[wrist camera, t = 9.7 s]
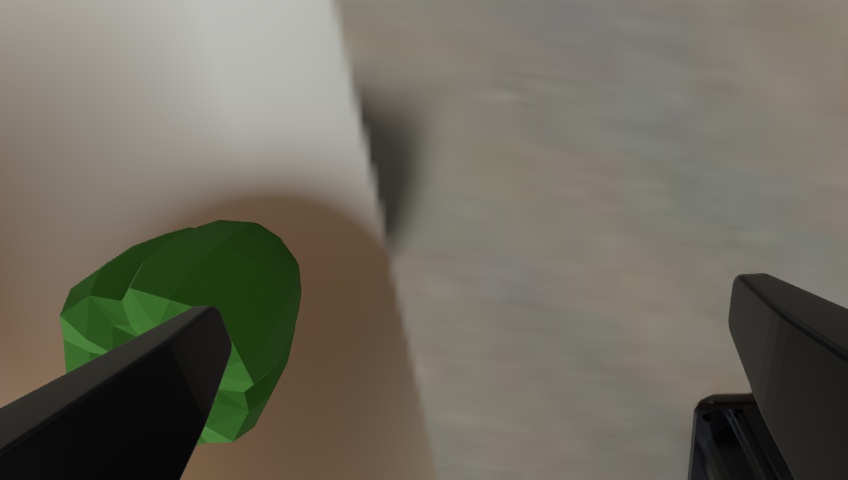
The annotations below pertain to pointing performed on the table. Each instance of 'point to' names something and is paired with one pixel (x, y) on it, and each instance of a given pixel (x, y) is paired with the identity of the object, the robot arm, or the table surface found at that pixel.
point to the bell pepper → (197, 286)
